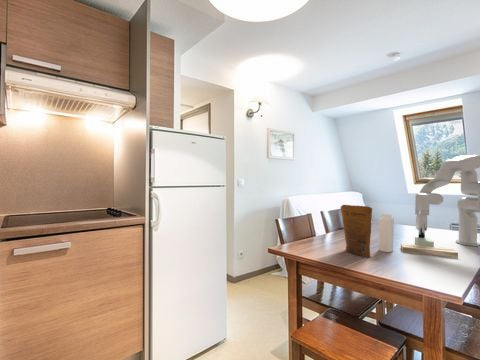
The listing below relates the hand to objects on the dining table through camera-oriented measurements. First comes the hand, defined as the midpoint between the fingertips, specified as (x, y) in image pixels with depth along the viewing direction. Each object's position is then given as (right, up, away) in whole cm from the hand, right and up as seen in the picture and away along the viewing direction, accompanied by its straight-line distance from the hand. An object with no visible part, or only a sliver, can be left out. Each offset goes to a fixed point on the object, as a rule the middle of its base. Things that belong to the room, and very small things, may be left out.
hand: (421, 240), depth 170 cm
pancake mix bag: (-51, -3, -19) cm, 55 cm away
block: (-3, -4, -6) cm, 8 cm away
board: (-7, -4, -15) cm, 17 cm away
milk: (-30, -4, -12) cm, 32 cm away
